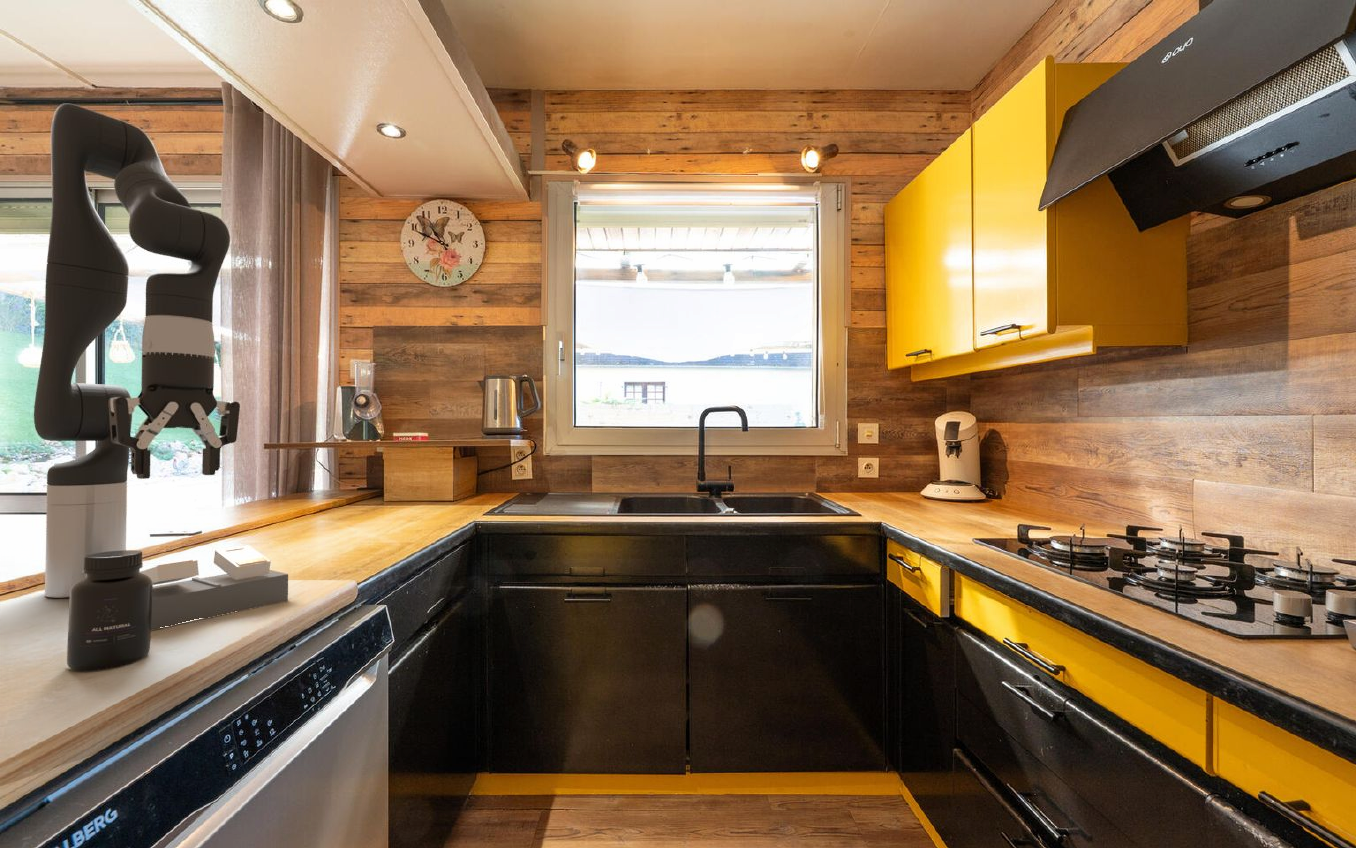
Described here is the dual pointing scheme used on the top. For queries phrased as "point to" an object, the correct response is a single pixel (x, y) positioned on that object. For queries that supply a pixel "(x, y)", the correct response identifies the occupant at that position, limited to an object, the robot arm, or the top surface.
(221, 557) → the rocker
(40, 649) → the top surface
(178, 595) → the switch panel
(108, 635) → the supplement bottle
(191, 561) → the block
